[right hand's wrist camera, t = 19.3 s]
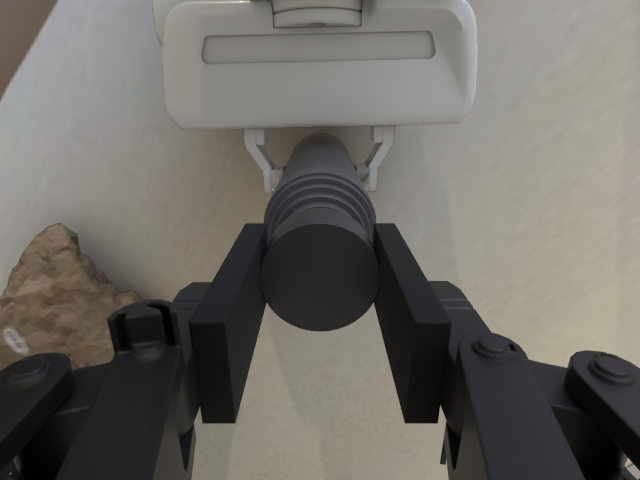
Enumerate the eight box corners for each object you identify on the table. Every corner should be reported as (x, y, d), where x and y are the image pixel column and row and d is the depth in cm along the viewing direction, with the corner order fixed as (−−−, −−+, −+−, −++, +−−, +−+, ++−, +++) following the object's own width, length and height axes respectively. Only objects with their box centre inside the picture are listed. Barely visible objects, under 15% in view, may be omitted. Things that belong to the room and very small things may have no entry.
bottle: (333, 201, 35) (353, 356, 14) (281, 177, 35) (222, 305, 14) (359, 149, 34) (424, 239, 13) (305, 123, 33) (279, 173, 12)
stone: (-53, 317, 36) (-98, 355, 30) (64, 211, 36) (39, 230, 30) (132, 421, 45) (122, 465, 39) (225, 337, 45) (228, 369, 39)
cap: (381, 213, 14) (390, 230, 12) (364, 310, 15) (370, 336, 13) (270, 201, 14) (263, 216, 12) (263, 300, 15) (256, 325, 13)
